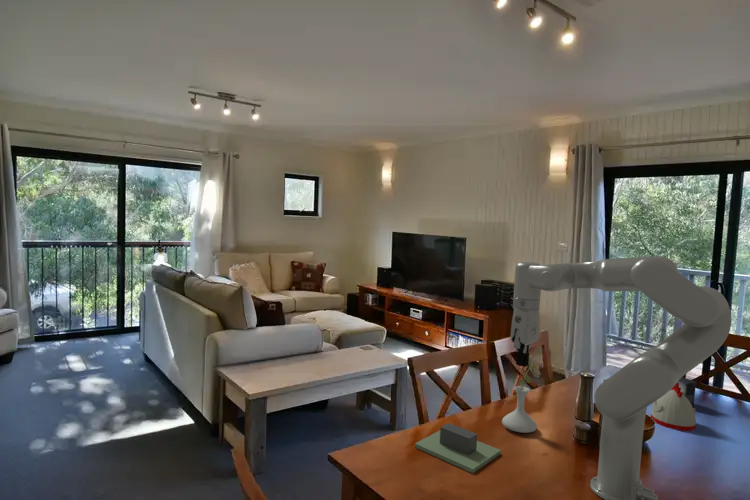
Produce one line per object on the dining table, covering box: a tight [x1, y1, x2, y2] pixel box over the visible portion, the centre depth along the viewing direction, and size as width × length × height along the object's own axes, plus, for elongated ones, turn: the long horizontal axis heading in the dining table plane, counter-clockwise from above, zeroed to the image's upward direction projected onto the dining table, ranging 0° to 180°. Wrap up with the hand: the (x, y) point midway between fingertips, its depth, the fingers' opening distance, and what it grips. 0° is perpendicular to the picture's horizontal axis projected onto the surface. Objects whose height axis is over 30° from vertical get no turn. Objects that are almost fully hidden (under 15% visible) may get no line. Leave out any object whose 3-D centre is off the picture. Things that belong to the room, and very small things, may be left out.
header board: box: [414, 430, 502, 474], centre depth 142 cm, size 20×16×5 cm
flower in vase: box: [501, 354, 542, 434], centre depth 159 cm, size 13×11×25 cm
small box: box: [677, 376, 697, 408], centre depth 191 cm, size 11×6×10 cm, turn 25°
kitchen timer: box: [650, 383, 697, 432], centre depth 171 cm, size 14×14×15 cm
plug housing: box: [439, 422, 478, 455], centre depth 142 cm, size 10×4×5 cm, turn 48°
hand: (522, 365), depth 140 cm, fingers closed
